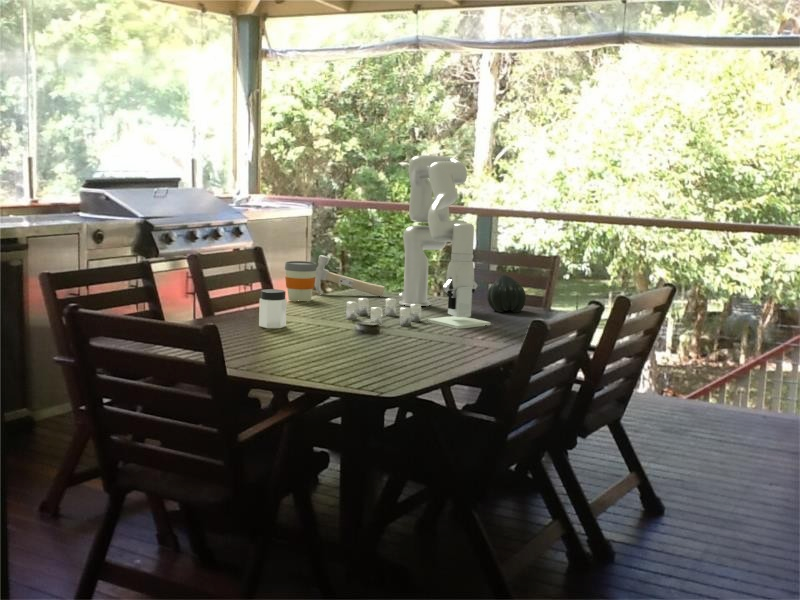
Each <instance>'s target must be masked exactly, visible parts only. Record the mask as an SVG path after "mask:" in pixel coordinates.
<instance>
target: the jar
mask: <svg viewBox="0 0 800 600" xmlns="http://www.w3.org/2000/svg"><path fill="white" fill-rule="evenodd" d="M258 306H259V309H258V313H259V314H258V326H259V327H260V328H264V329H281V328H285V327H286V326H287V298H286V291H285V290H283V289H276V288H275V289H273V288H269V289H267V288H266V289H262V290H260V297H259V305H258Z"/></svg>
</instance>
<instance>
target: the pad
mask: <svg viewBox="0 0 800 600" xmlns="http://www.w3.org/2000/svg"><path fill="white" fill-rule="evenodd" d="M427 321H428V322H427ZM426 322H427V323H432V324H436V325H441V326H445V327H449V328H453V329H457V330H460V329H467V328H468V329H469V328H476V327H486V326H485V325H487V326H491V321H486V320H482V319H478V318H472V317H456V316H453V315H451V316H443V317H442V316H441V317H433V318H431V317H430V318H427V319H426Z"/></svg>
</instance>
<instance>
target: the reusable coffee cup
mask: <svg viewBox="0 0 800 600" xmlns="http://www.w3.org/2000/svg"><path fill="white" fill-rule="evenodd" d="M316 268H317V263H316V262H313V261H306V260H305V261H304V260H291V261H285V264H284V270H285V288H287V295H288V297H287V298H288V301H290V302H296V301H298V300H299V301H307V302H311V301H312V296H313V290H314V289H315V285H314V284H315V278H316V277H315V271H316Z"/></svg>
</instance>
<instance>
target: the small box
mask: <svg viewBox="0 0 800 600" xmlns="http://www.w3.org/2000/svg"><path fill="white" fill-rule="evenodd" d="M452 293H453V291H452ZM454 298H456V307H455V309H450V308H448V307H447V314H448V315H451V316H456V317H468V318H472V303H473V302H472V299H473V296H472V288H471V287H459V288H457V290H456V295H455V297H454Z"/></svg>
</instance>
